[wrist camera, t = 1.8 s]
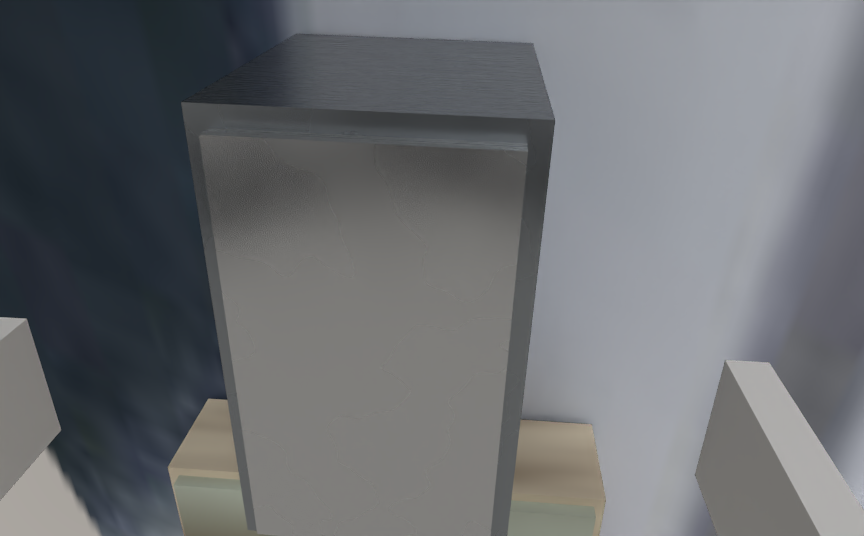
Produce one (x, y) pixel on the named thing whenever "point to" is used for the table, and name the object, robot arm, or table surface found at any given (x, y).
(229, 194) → the housing
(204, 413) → the stand
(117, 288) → the table surface
